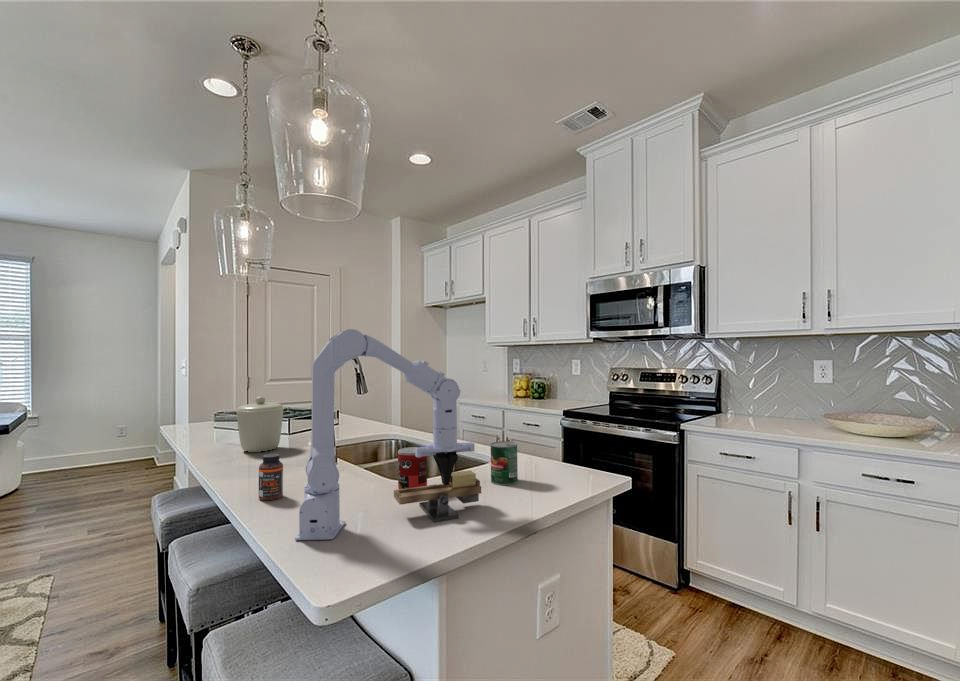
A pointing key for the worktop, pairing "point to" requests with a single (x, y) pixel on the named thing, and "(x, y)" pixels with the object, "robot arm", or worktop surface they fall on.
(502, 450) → the canned tomato
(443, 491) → the beam
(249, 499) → the worktop surface
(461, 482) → the rider
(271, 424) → the canister
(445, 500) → the stand
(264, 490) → the supplement bottle
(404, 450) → the canned food
